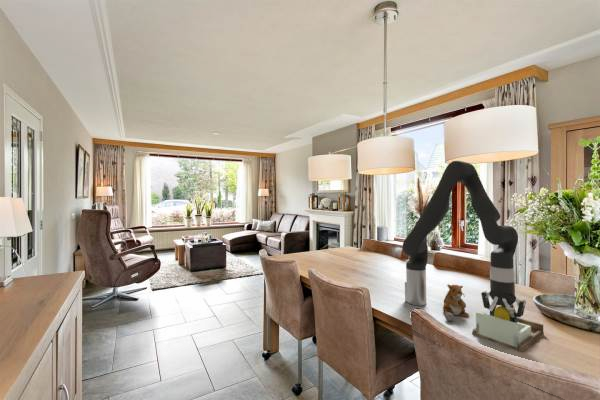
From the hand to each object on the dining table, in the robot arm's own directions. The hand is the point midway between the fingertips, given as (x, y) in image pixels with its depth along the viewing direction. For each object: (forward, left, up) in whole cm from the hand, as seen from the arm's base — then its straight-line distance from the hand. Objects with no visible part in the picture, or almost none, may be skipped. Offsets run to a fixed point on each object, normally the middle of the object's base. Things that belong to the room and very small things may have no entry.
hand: (503, 323), depth 105 cm
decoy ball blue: (-11, +10, -5) cm, 16 cm away
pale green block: (0, 0, -4) cm, 4 cm away
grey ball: (-19, -2, -5) cm, 20 cm away
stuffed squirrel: (-23, +9, -5) cm, 25 cm away
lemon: (0, 0, -1) cm, 1 cm away
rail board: (0, +4, -5) cm, 6 cm away
